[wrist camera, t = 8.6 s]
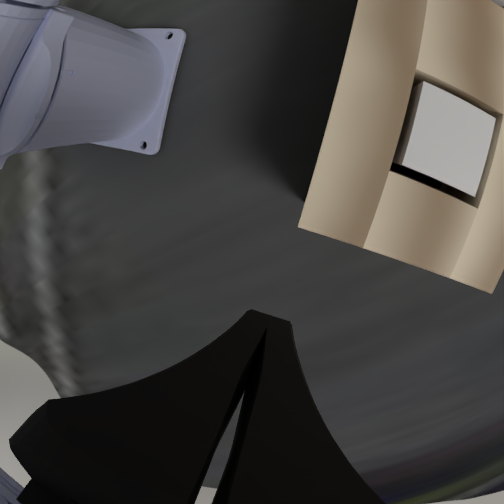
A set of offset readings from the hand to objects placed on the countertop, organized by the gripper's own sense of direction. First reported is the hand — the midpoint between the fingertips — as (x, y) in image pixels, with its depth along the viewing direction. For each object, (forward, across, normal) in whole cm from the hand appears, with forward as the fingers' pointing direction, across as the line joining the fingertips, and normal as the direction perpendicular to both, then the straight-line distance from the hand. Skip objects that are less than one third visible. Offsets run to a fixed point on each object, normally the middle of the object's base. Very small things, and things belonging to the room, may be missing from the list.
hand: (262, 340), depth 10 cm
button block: (+9, -5, -13) cm, 17 cm away
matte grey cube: (+9, -5, -8) cm, 13 cm away
